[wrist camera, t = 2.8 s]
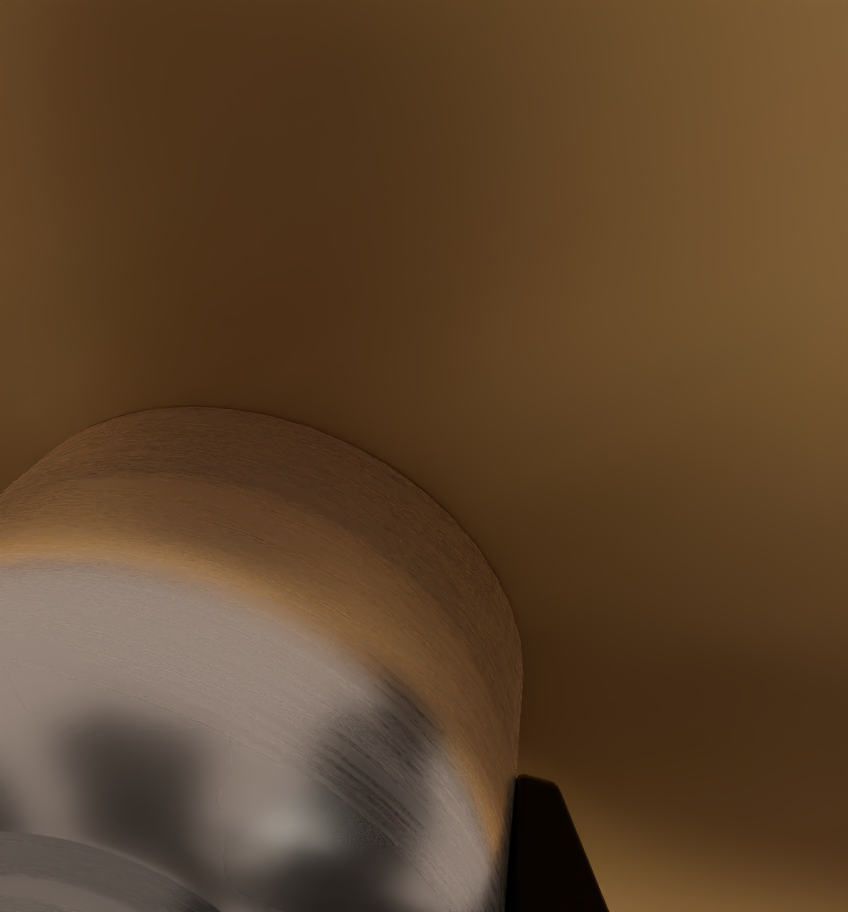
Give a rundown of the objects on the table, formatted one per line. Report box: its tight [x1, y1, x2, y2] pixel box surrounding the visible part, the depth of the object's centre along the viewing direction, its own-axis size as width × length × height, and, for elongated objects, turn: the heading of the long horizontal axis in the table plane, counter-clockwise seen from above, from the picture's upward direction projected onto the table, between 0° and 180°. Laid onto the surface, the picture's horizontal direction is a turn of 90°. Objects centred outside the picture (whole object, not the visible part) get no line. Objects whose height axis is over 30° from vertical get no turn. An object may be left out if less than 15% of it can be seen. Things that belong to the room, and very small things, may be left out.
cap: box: [0, 406, 524, 912], centre depth 7 cm, size 6×6×5 cm
